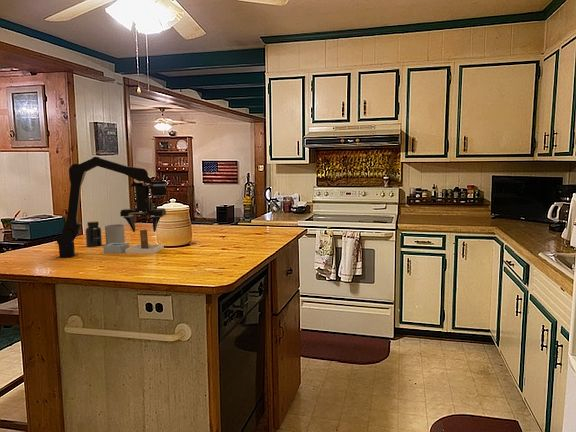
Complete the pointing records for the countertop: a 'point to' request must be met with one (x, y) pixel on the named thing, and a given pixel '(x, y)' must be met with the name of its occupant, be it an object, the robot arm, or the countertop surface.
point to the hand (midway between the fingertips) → (144, 231)
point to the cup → (114, 234)
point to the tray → (151, 249)
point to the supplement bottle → (93, 235)
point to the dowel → (144, 239)
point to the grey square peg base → (115, 247)
